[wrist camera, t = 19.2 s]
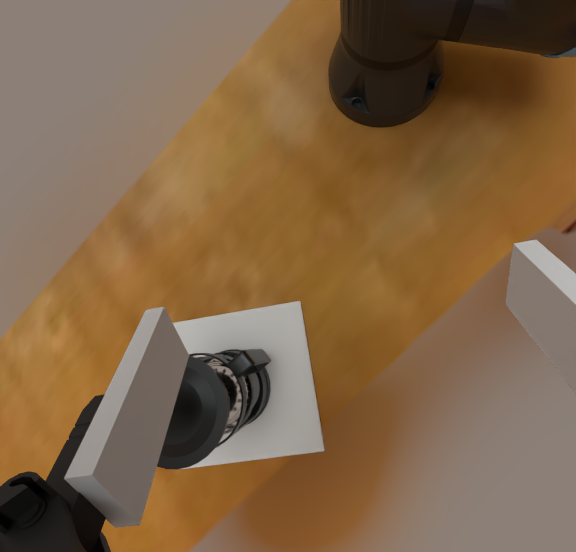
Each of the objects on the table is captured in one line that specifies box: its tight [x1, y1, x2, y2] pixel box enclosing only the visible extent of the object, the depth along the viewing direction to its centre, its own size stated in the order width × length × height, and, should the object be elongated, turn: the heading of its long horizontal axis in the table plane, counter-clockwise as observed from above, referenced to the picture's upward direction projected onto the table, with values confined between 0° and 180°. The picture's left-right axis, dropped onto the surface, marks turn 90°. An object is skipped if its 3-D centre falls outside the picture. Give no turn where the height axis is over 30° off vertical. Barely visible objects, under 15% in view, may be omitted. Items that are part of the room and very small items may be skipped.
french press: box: [157, 349, 271, 469], centre depth 36 cm, size 12×9×23 cm
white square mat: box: [173, 301, 325, 469], centre depth 48 cm, size 18×18×1 cm
